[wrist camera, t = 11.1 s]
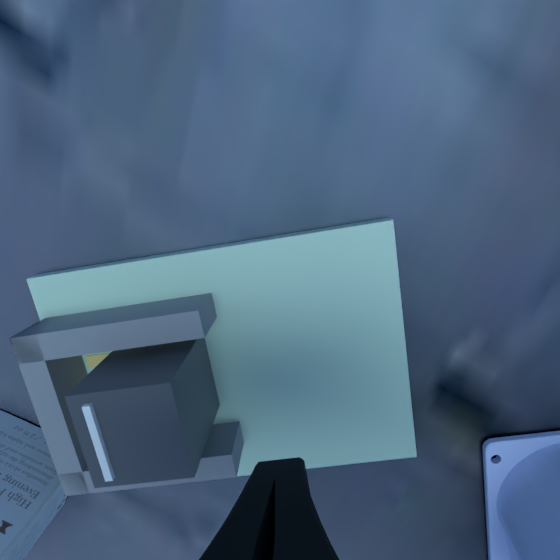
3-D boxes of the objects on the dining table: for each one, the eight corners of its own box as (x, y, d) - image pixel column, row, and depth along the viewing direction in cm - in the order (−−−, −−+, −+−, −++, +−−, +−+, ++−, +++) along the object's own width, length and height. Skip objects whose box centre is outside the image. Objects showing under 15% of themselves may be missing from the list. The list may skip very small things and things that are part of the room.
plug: (219, 404, 20) (193, 481, 15) (142, 414, 20) (91, 492, 15) (202, 330, 19) (168, 385, 14) (122, 341, 20) (61, 399, 14)
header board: (411, 443, 21) (432, 494, 18) (105, 478, 23) (71, 531, 19) (388, 217, 18) (408, 227, 15) (39, 273, 20) (-14, 294, 17)
